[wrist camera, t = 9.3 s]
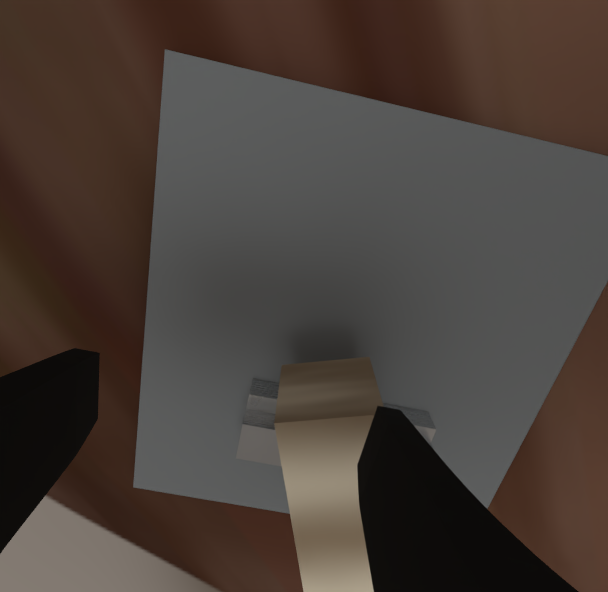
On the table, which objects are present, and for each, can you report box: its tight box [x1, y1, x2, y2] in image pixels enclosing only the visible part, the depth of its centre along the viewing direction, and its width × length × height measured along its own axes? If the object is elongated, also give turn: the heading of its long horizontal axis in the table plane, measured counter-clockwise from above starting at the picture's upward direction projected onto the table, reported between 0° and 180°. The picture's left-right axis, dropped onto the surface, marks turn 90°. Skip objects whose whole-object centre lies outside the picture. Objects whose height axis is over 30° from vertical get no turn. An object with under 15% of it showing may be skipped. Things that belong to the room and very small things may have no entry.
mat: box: [133, 49, 608, 514], centre depth 21 cm, size 22×24×1 cm
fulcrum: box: [236, 378, 436, 466], centre depth 21 cm, size 10×4×3 cm, turn 78°
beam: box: [274, 357, 384, 592], centre depth 18 cm, size 12×4×4 cm, turn 7°
